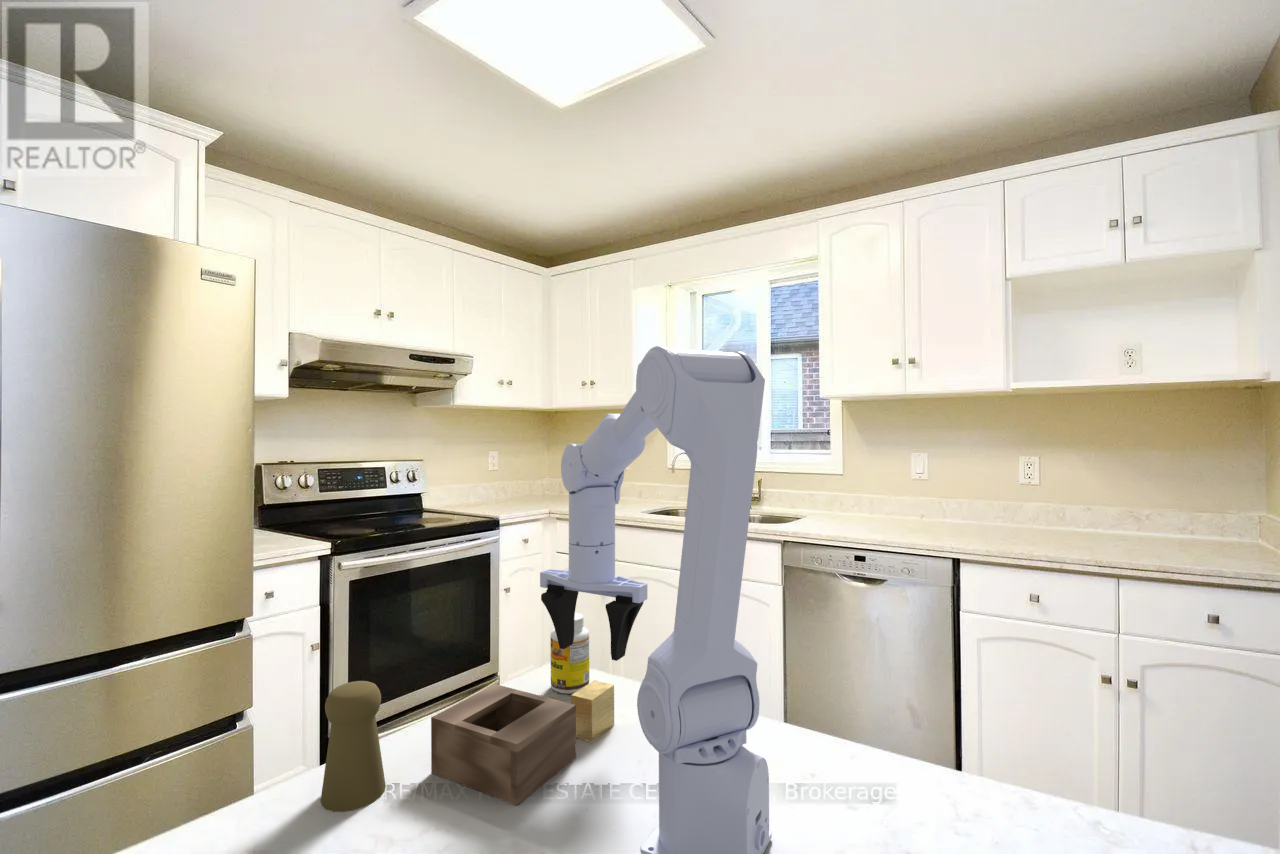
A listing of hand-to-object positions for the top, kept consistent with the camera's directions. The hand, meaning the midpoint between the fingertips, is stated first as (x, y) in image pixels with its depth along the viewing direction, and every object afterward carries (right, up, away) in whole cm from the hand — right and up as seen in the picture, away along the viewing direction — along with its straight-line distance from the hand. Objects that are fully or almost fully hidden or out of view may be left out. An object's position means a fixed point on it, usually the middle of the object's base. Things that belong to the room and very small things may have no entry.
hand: (591, 651), depth 76 cm
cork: (-23, -10, -13) cm, 28 cm away
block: (0, -10, 0) cm, 10 cm away
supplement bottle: (-4, -10, +13) cm, 17 cm away
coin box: (-9, -10, -8) cm, 15 cm away
